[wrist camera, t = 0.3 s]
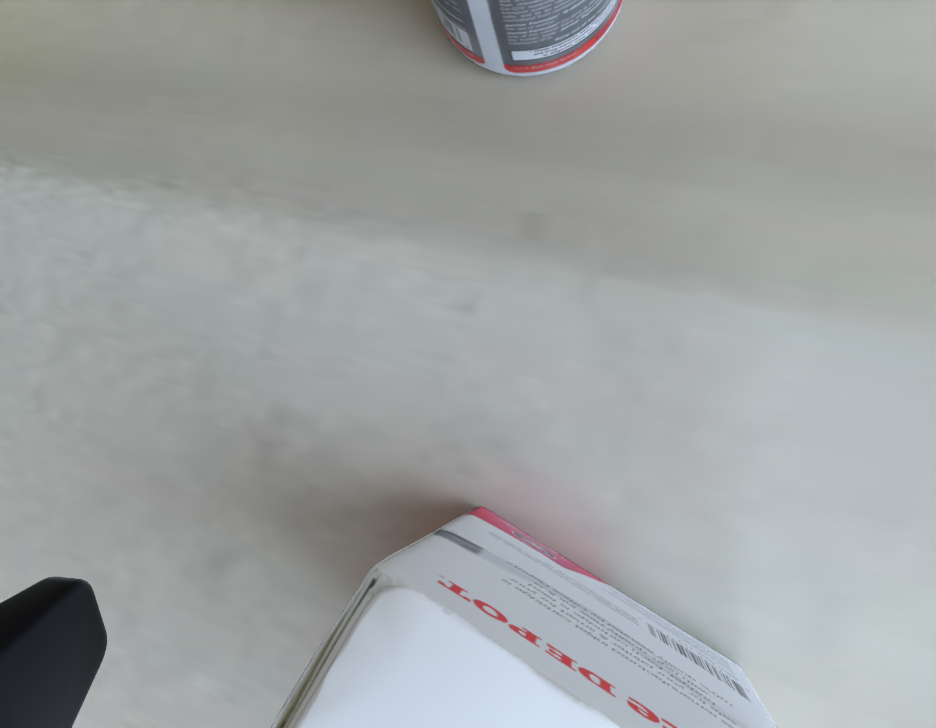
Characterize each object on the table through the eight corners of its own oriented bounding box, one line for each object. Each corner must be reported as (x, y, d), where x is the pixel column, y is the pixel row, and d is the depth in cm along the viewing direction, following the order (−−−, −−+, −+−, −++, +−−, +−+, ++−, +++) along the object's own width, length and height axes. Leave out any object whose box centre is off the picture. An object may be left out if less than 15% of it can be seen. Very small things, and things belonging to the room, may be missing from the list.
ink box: (389, 639, 23) (185, 838, 12) (478, 493, 23) (361, 547, 12) (656, 824, 22) (726, 1266, 10) (751, 667, 22) (931, 931, 10)
